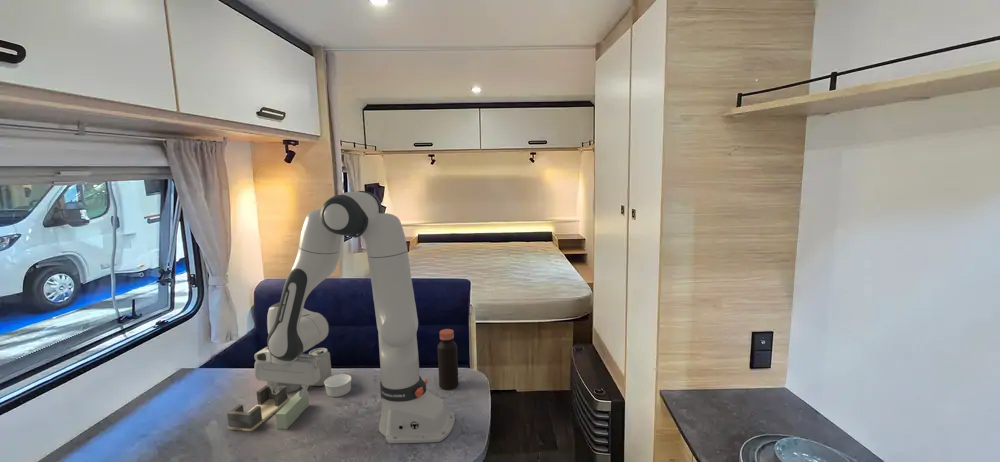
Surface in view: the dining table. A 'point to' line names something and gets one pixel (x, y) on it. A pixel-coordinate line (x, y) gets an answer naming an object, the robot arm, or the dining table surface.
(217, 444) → the dining table surface
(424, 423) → the robot arm
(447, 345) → the bottle
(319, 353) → the can
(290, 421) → the slat
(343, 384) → the ramekin
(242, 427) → the grey and cream cradle
